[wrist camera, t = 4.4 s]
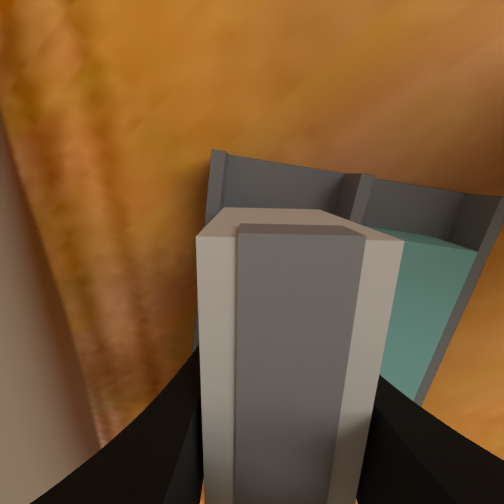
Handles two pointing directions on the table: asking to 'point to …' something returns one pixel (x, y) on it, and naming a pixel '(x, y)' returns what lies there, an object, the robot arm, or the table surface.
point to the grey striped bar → (290, 352)
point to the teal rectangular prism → (421, 305)
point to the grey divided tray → (363, 214)
